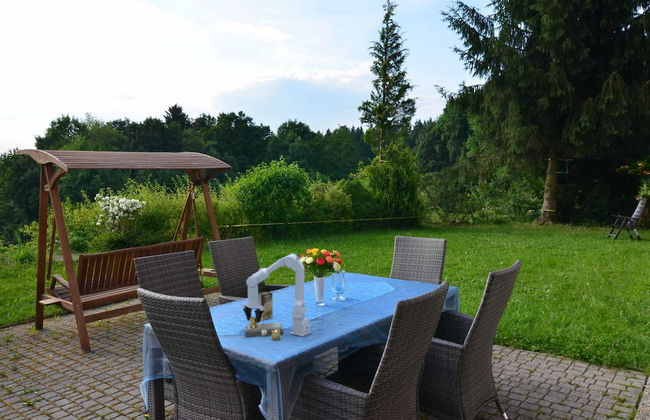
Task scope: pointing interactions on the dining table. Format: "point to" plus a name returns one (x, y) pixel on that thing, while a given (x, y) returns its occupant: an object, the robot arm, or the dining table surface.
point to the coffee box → (266, 305)
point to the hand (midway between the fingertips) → (253, 321)
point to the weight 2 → (276, 334)
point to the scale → (263, 330)
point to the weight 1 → (253, 322)
